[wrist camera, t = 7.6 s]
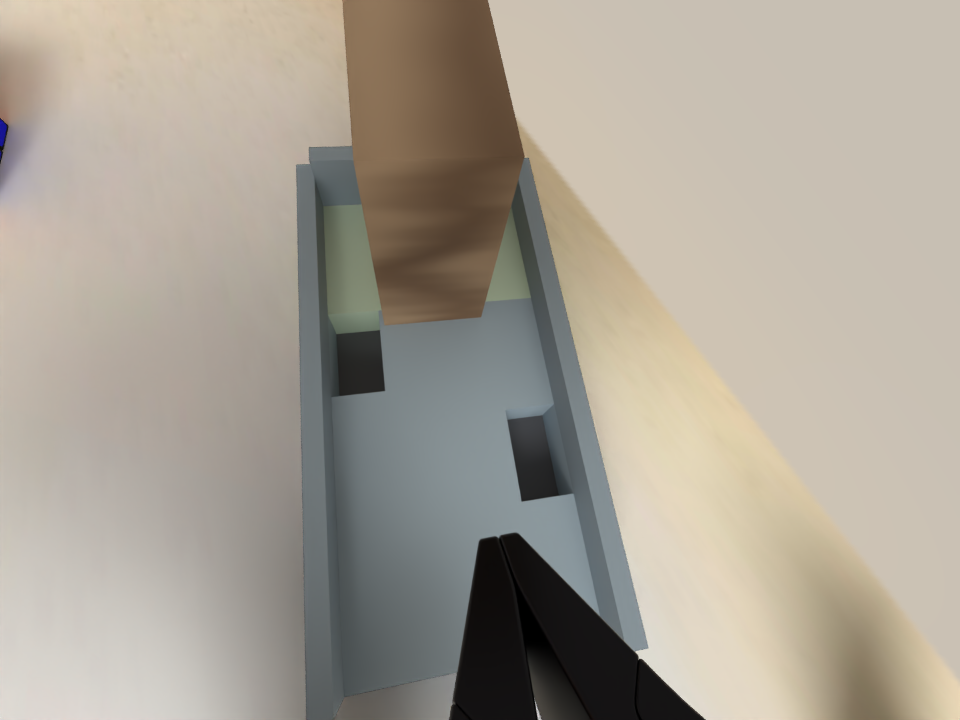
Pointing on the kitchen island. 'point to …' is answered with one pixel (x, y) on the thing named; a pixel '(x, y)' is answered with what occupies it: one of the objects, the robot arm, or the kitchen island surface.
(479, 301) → the walnut block
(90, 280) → the kitchen island surface
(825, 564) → the kitchen island surface
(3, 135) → the rubik's cube
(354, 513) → the tray
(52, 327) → the kitchen island surface
